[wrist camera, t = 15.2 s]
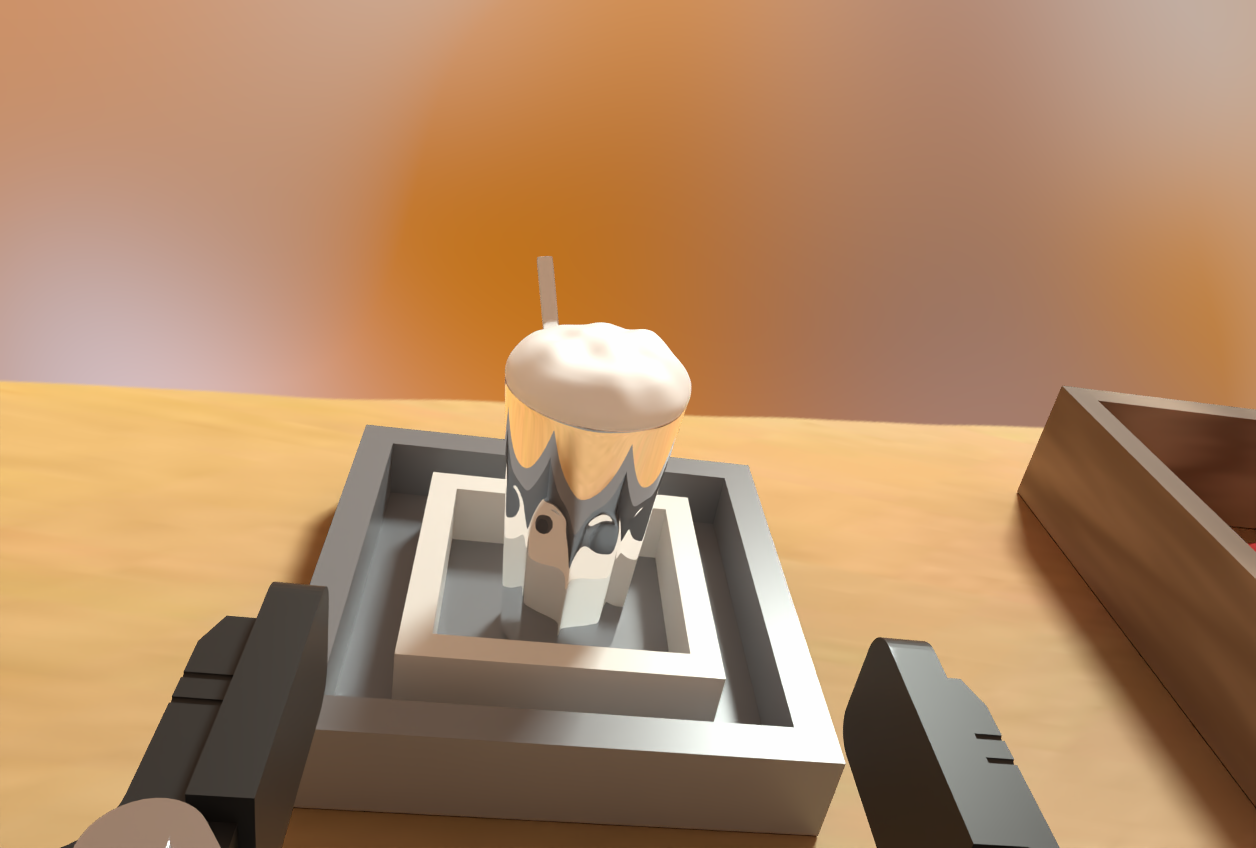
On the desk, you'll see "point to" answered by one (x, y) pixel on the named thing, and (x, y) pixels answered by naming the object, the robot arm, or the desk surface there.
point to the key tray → (1164, 543)
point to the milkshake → (581, 470)
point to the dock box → (561, 661)
